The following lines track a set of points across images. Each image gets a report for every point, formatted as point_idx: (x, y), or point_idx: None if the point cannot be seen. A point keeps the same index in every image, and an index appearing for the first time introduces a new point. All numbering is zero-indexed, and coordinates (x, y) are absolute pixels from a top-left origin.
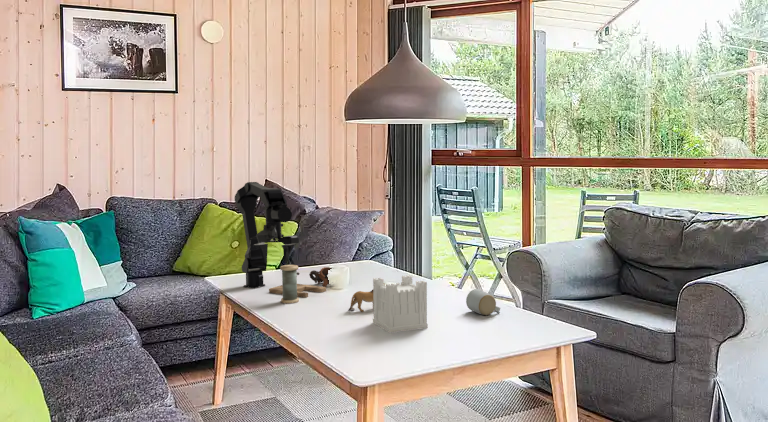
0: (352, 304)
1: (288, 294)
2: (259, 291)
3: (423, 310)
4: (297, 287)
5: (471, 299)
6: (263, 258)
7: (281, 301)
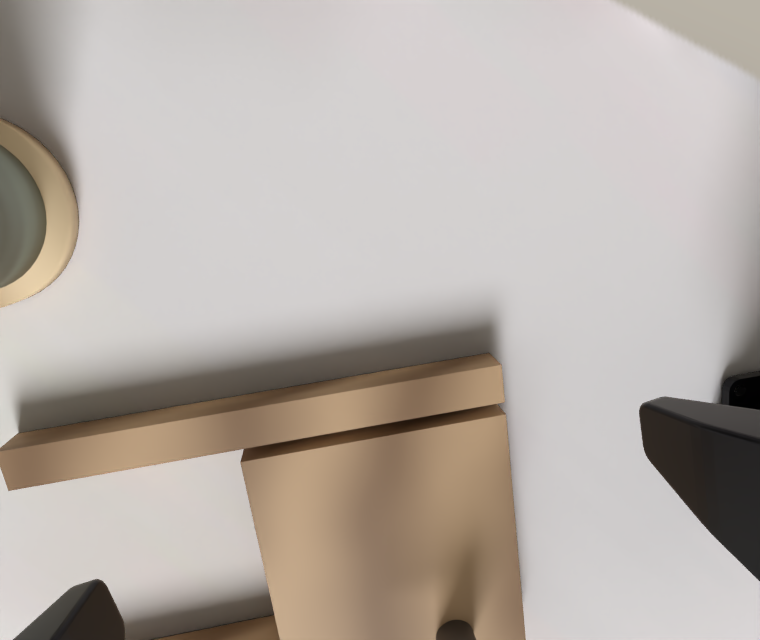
0: None
1: None
2: (600, 326)
3: None
4: (309, 573)
5: None
6: (731, 420)
7: (5, 121)
